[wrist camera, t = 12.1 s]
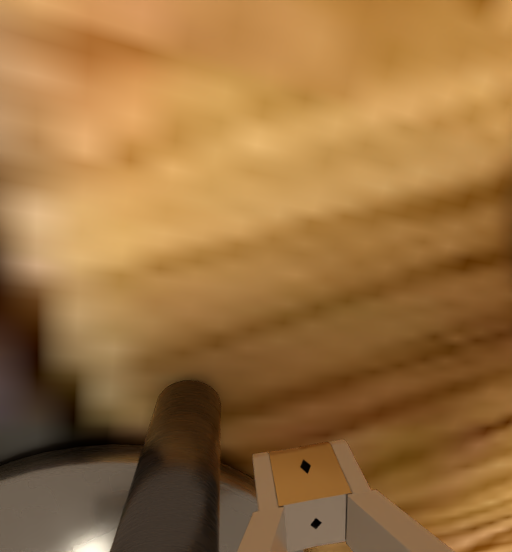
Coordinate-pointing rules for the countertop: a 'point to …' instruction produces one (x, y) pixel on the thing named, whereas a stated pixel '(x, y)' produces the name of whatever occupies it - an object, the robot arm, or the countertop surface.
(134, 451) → the turntable
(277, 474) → the robot arm
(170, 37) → the countertop surface
